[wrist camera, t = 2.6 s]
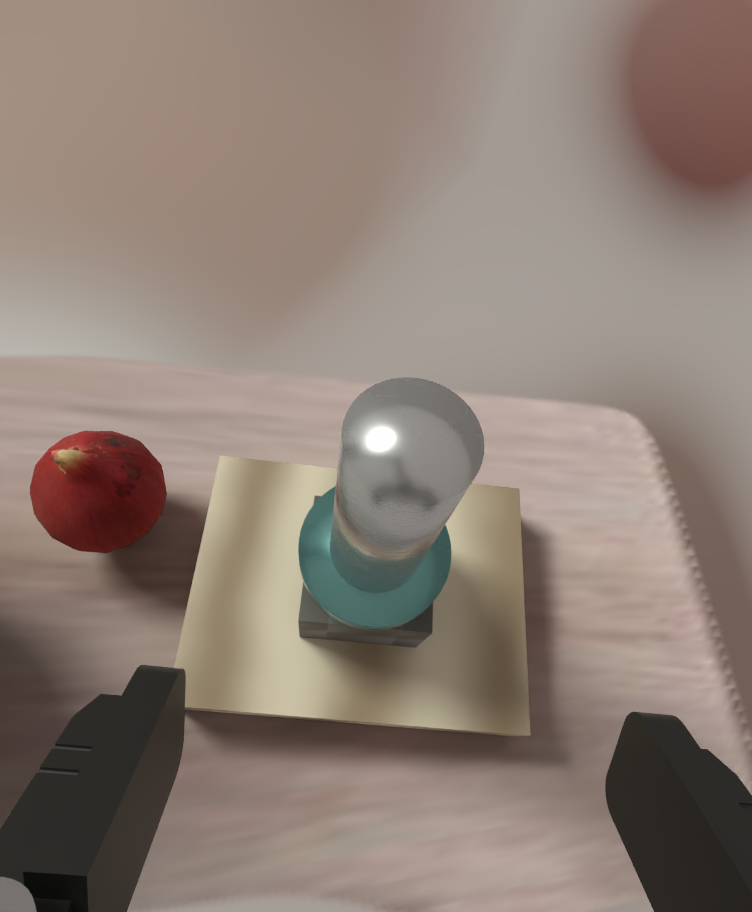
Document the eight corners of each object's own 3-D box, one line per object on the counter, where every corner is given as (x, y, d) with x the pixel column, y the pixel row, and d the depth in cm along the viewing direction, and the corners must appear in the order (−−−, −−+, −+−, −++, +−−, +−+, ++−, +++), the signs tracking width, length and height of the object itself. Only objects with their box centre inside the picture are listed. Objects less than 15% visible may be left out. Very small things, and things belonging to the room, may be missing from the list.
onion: (138, 450, 33) (91, 369, 26) (201, 520, 31) (169, 455, 24) (44, 515, 31) (-37, 446, 23) (107, 593, 29) (42, 545, 22)
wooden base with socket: (179, 709, 27) (140, 699, 21) (227, 479, 33) (208, 417, 26) (509, 736, 28) (566, 734, 22) (502, 508, 34) (546, 455, 27)
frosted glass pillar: (291, 642, 26) (275, 540, 13) (308, 518, 29) (308, 328, 15) (422, 654, 26) (537, 567, 13) (426, 530, 29) (525, 355, 16)
